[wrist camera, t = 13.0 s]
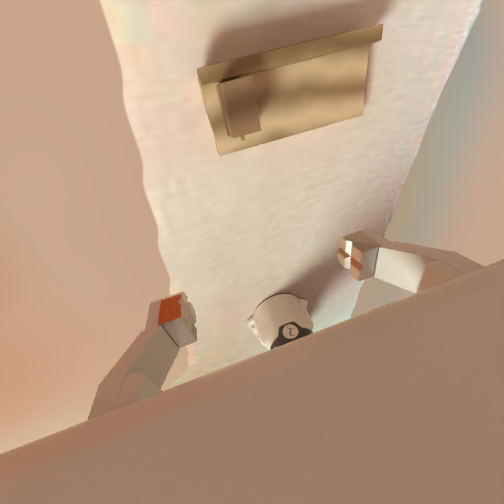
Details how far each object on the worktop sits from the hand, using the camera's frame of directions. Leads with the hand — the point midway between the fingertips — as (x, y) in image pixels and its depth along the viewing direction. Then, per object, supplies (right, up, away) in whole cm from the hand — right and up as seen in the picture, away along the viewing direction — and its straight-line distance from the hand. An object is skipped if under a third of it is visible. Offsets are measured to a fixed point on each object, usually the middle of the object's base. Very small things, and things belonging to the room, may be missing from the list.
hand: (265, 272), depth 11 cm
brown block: (-3, +22, +20) cm, 30 cm away
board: (+5, +26, +23) cm, 35 cm away
